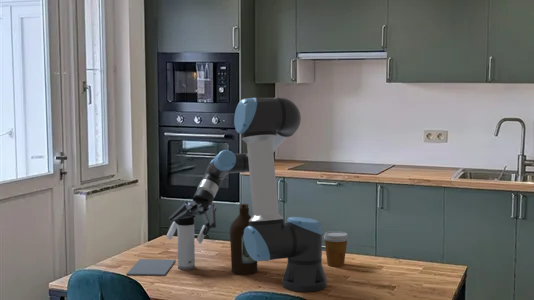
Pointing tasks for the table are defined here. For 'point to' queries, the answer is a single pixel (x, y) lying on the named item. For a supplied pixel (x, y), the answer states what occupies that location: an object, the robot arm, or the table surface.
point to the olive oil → (241, 244)
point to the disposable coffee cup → (335, 248)
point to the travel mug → (186, 242)
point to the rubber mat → (151, 267)
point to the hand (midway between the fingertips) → (183, 239)
